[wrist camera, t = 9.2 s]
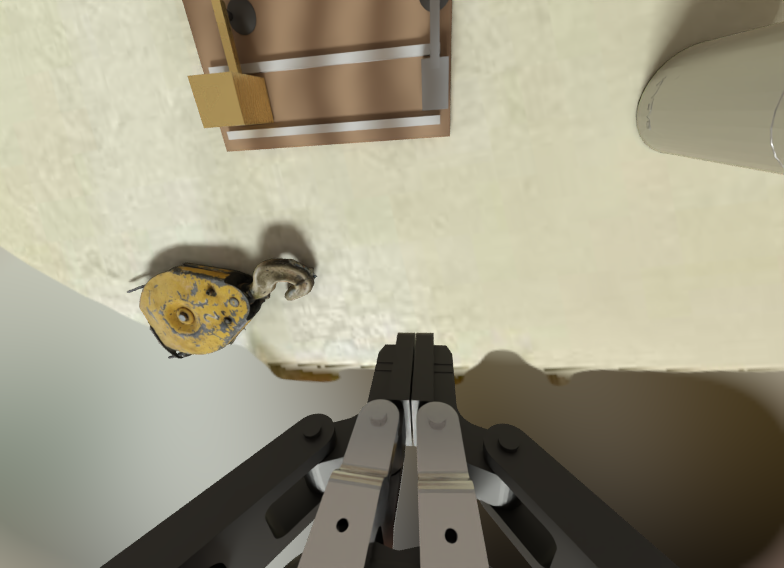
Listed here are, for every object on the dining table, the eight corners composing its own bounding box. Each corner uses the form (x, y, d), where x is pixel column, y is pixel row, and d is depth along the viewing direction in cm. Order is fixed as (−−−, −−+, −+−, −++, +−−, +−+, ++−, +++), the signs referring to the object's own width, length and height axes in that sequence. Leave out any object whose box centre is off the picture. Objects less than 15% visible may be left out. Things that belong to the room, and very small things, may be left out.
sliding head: (247, 3, 29) (206, -22, 24) (274, 122, 33) (244, 124, 28) (207, 8, 29) (158, -15, 24) (239, 125, 34) (204, 127, 29)
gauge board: (452, -62, 26) (454, -84, 23) (449, 135, 33) (450, 137, 30) (183, -21, 30) (155, -36, 27) (232, 150, 37) (214, 153, 34)
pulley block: (325, 331, 40) (155, 375, 48) (339, 312, 46) (185, 354, 54) (277, 227, 36) (102, 293, 44) (299, 219, 42) (139, 279, 50)
